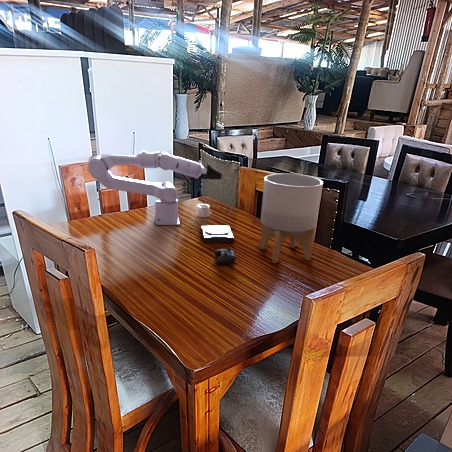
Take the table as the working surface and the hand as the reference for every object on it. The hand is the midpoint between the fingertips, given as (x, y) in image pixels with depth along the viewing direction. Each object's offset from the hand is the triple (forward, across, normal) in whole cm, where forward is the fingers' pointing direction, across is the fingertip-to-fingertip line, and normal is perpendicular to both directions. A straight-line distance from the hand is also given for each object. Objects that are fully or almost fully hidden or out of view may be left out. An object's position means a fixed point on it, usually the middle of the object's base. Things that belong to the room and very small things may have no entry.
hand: (218, 176), depth 162 cm
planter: (+20, -35, +22) cm, 46 cm away
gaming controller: (-2, -36, +29) cm, 46 cm away
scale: (+1, -14, +23) cm, 27 cm away
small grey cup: (+1, +11, +17) cm, 20 cm away
